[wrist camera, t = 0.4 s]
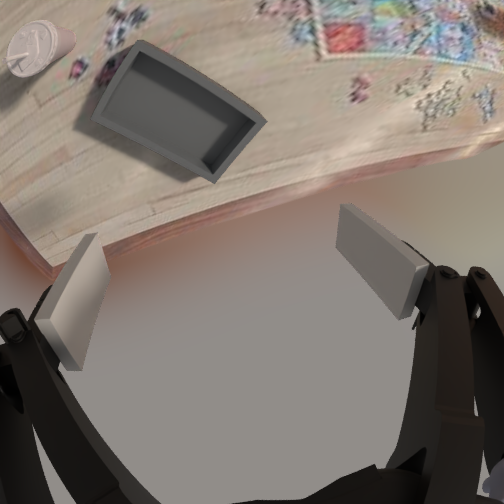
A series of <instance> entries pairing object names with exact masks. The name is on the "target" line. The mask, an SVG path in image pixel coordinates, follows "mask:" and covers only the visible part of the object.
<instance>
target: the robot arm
mask: <svg viewBox="0 0 504 504" xmlns="http://www.w3.org/2000/svg"><path fill="white" fill-rule="evenodd" d="M336 248H337V250H338V251H339V252H340V253H341V254H342V255H343V256H344V257H345V258H346V260H347V261H348V262H349V263H350V264H351V265H352V266H353V267H354V268H355V270H356V271H357V272H358V273H359V274H360V275H361V277H362V278H363V279H364V280H365V281H366V282H367V283H368V285H369V286H370V287H371V288H372V289H373V290H374V292H375V293H376V294H377V295H378V296H379V298H380V299H381V300H382V301H383V302H384V304H385V305H386V306H387V307H388V308H389V310H390V311H391V312H392V313H393V315H394V316H395V317H396V318H397V319H398V320H401V319H404V318H407V317H410V316H411V314H412V312H413V309H414V307H415V306H416V307H417V308H418V309H419V310H420V311H419V313H418V315H417V318H416V320H415V322H414V325H413V327H412V330H414V328H415V327H416V338H415V349H414V358H413V366H412V374H411V380H410V387H409V393H408V398H407V403H406V408H405V413H404V418H403V422H402V427H401V431H400V435H399V439H398V443H397V446H396V448H395V451H394V452H393V454H392V456H391V457H390V459H389V461H388V463H387V465H386V468H384V469H377V468H376V465H375V464H373V465H371V466H369V467H366V468H364V469H361V470H359V471H357V472H354V473H352V474H349V475H346V476H344V477H341V478H339V479H338V480H336V481H334V482H333V483H331V484H329V485H328V486H326V487H324V488H323V489H321V490H319V491H317V492H316V493H314V494H312V495H310V496H308V497H306V498H304V499H300V500H254V501H248V502H240V503H233V504H504V296H503V294H502V292H501V291H500V289H499V288H498V286H497V284H496V283H495V281H494V280H493V278H492V277H491V275H490V274H489V273H488V272H487V271H486V270H485V269H483V268H481V267H471V268H470V270H469V273H468V276H460V275H459V274H458V273H457V272H456V271H455V270H454V269H452V268H450V267H448V266H443V265H441V266H437V267H436V266H434V264H432V263H431V262H430V261H429V260H428V259H427V258H425V257H424V256H423V255H422V254H420V253H419V252H418V251H417V250H414V248H413V247H412V246H411V245H409V244H408V243H406V242H404V241H402V240H400V239H399V238H398V237H396V236H395V235H394V234H393V233H391V232H390V231H389V230H387V229H386V228H385V227H384V226H382V225H381V224H380V223H378V222H377V221H376V220H374V219H373V218H372V217H370V216H369V215H367V214H366V213H365V212H363V211H362V210H361V209H359V208H358V207H356V206H355V205H354V204H352V203H349V204H340V213H339V222H338V232H337V240H336ZM110 279H111V275H110V272H109V269H108V266H107V262H106V259H105V256H104V253H103V249H102V246H101V243H100V239H99V236H98V232H97V233H92V234H86V235H85V236H84V237H83V239H82V240H81V242H80V243H79V244H78V246H77V247H76V249H75V250H74V252H73V253H72V255H71V256H70V258H69V260H68V261H67V263H66V264H65V266H64V267H63V269H62V271H61V272H60V274H59V276H58V277H57V279H56V281H55V282H54V284H53V285H51V286H49V287H48V288H47V289H46V290H45V291H44V292H43V294H42V296H41V297H40V299H39V301H38V303H37V305H36V307H35V308H34V310H33V312H32V314H31V316H30V318H29V320H28V321H26V319H25V317H24V315H23V314H22V312H21V310H20V309H18V308H13V309H10V310H8V311H6V312H5V313H3V314H2V315H1V316H0V335H1V337H2V338H3V340H4V341H5V344H2V345H0V504H55V503H54V501H53V498H52V496H51V493H50V490H49V487H48V484H47V481H46V478H45V476H44V472H43V469H42V465H41V461H40V457H39V454H38V450H37V445H36V441H35V437H34V432H33V427H34V429H35V431H36V433H37V436H38V438H39V440H40V442H41V444H42V446H43V448H44V450H45V452H46V454H47V456H48V458H49V460H50V461H51V463H52V465H53V467H54V469H55V470H56V472H57V474H58V476H59V477H60V479H61V481H62V482H63V484H64V485H65V487H66V489H67V490H68V492H69V493H70V495H71V496H72V498H73V499H74V501H75V502H76V504H161V503H160V502H159V501H157V500H156V499H155V498H154V497H153V496H152V495H151V494H150V493H149V492H148V491H147V490H146V489H145V488H144V487H143V486H142V485H141V484H140V483H139V482H138V481H137V479H136V478H135V477H134V476H133V475H132V474H131V473H130V472H129V470H128V469H127V468H126V467H125V466H124V465H123V464H122V462H121V461H120V460H119V459H118V458H117V456H116V455H115V454H114V453H113V451H112V450H111V449H110V448H109V446H108V445H107V444H106V442H105V441H104V440H103V438H102V437H101V436H100V434H99V433H98V432H97V430H96V429H95V427H94V426H93V425H92V423H91V422H90V420H89V418H88V417H87V415H86V414H85V412H84V411H83V410H82V408H81V406H80V405H79V403H78V401H77V400H76V398H75V396H74V395H73V393H72V391H71V390H70V388H69V386H68V384H67V383H66V381H65V379H64V377H63V375H62V374H61V372H60V371H59V370H58V366H59V363H60V362H61V363H62V364H63V366H64V367H65V369H66V370H67V371H82V369H83V365H84V361H85V357H86V353H87V349H88V346H89V342H90V339H91V335H92V332H93V329H94V325H95V322H96V319H97V316H98V313H99V310H100V307H101V304H102V301H103V298H104V295H105V292H106V289H107V287H108V284H109V281H110ZM479 307H480V309H481V314H480V316H479V318H477V315H476V313H477V311H478V309H479ZM474 396H475V401H476V405H477V411H478V416H475V414H474ZM32 424H33V426H32ZM483 450H484V457H485V461H486V465H487V469H488V472H489V475H490V477H488V478H487V479H486V480H485V481H484V483H483V487H482V489H483V491H484V492H485V493H489V497H484V496H481V495H477V489H478V483H479V478H480V472H481V464H482V456H483Z"/></svg>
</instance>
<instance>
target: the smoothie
mask: <svg viewBox="0 0 504 504" xmlns="http://www.w3.org/2000/svg"><path fill="white" fill-rule="evenodd" d="M75 44H76V35H75V33H74V32H73V31H71V30H68V29H65V28H61V27H57V26H54V25H53V24H52V23H50V22H49V21H46V20H37V21H32V22H29V23H27V24H25V25H24V26H22V27H21V28H20V29H19V30H18V31H17V32H16V33H15V34H14V36H13V37H12V39H11V41H10V43H9V46H8V49H7V54H6V58H4V59H3V60H2V63H3V64H5V63H7V66H8V68H9V70H10V71H11V73H12V74H14V75H15V76H17V77H22V78H24V77H29V76H33V75H35V74H38V73H39V72H40V71H42V70H43V69H44V68H45V67H46V66H47V65H48V64H50V63H51V62H53V61H55V60H57V59H58V58H60V57H62V56H64V55H66V54H68V53H69V52H70V51H71V50H72V49H73V48H74V46H75Z"/></svg>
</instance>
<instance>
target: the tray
mask: <svg viewBox="0 0 504 504" xmlns="http://www.w3.org/2000/svg"><path fill="white" fill-rule="evenodd" d="M90 120H92V121H94V122H96V123H99V124H101V125H103V126H105V127H107V128H109V129H111V130H113V131H115V132H117V133H119V134H121V135H123V136H125V137H127V138H129V139H131V140H133V141H135V142H137V143H139V144H141V145H143V146H145V147H147V148H149V149H150V150H152V151H154V152H156V153H158V154H160V155H162V156H164V157H166V158H168V159H170V160H171V161H173V162H175V163H177V164H179V165H181V166H183V167H185V168H186V169H188V170H190V171H192V172H194V173H196V174H197V175H199V176H201V177H203V178H205V179H207V180H208V181H210V182H212V183H214V184H215V183H216V182H217V180H218V179H219V178H220V177H221V175H222V174H223V173H224V172H225V171H226V169H227V168H228V167H229V166H230V164H231V163H232V162H233V161H234V160H235V158H236V157H237V156H238V155H239V154H240V153H241V151H242V150H243V149H244V148H245V147H246V145H247V144H248V143H249V142H250V141H251V140H252V139H253V137H254V136H255V135H256V134H257V133H258V132H259V131H260V129H261V128H262V127H263V126H264V125H265V124H266V123H267V120H266V119H265V118H264V117H263V116H262V115H261V114H260V113H259V112H258V111H257V110H255V109H254V108H252V107H251V106H250V105H248V104H247V103H246V102H244V101H243V100H241V99H240V98H238V97H237V96H236V95H234V94H233V93H231V92H230V91H228V90H227V89H225V88H224V87H222V86H221V85H219V84H218V83H216V82H215V81H213V80H212V79H210V78H209V77H207V76H205V75H204V74H202V73H201V72H199V71H197V70H196V69H194V68H193V67H191V66H189V65H188V64H186V63H184V62H182V61H181V60H179V59H177V58H176V57H174V56H172V55H170V54H169V53H167V52H165V51H163V50H161V49H159V48H158V47H156V46H154V45H152V44H150V43H148V42H146V41H144V40H137V41H136V43H135V44H134V46H133V47H132V48H131V50H130V51H129V53H128V54H127V56H126V57H125V59H124V60H123V62H122V63H121V65H120V67H119V68H118V70H117V71H116V73H115V75H114V76H113V78H112V80H111V81H110V83H109V85H108V86H107V88H106V90H105V92H104V94H103V95H102V97H101V99H100V101H99V103H98V105H97V107H96V108H95V110H94V112H93V114H92V116H91V118H90Z"/></svg>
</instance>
